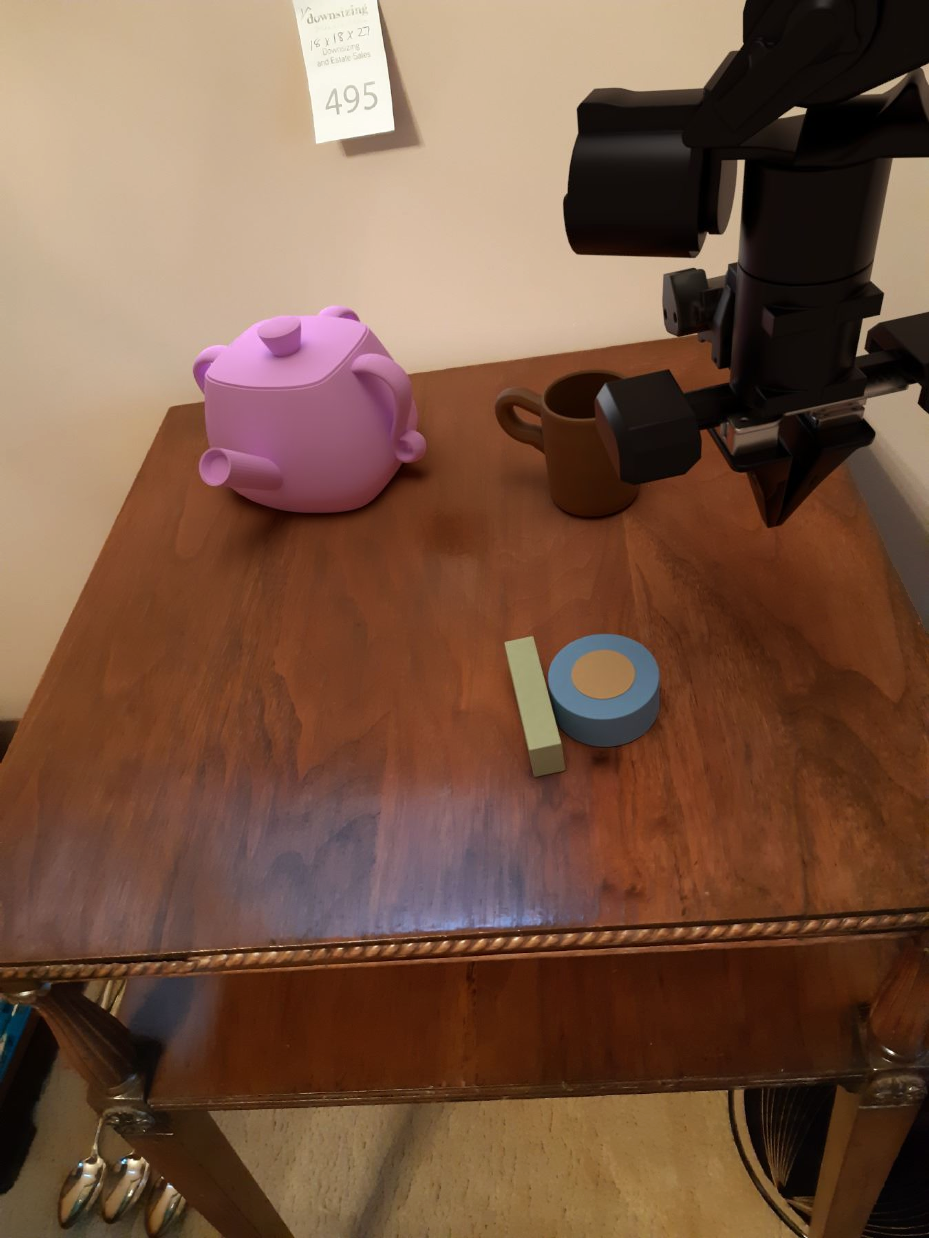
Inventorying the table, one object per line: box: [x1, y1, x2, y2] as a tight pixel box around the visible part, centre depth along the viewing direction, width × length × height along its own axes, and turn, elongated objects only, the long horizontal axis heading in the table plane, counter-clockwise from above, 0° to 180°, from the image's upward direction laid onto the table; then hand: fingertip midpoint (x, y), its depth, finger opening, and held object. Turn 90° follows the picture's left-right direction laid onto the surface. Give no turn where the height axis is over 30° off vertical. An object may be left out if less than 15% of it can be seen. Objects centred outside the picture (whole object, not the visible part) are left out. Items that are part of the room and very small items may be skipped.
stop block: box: [504, 635, 566, 778], centre depth 54 cm, size 2×9×3 cm, turn 8°
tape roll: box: [547, 633, 661, 748], centre depth 54 cm, size 7×7×3 cm
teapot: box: [192, 305, 428, 514], centre depth 74 cm, size 19×21×14 cm
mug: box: [494, 368, 641, 518], centre depth 68 cm, size 12×8×9 cm, turn 64°
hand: (771, 522), depth 49 cm, fingers closed
